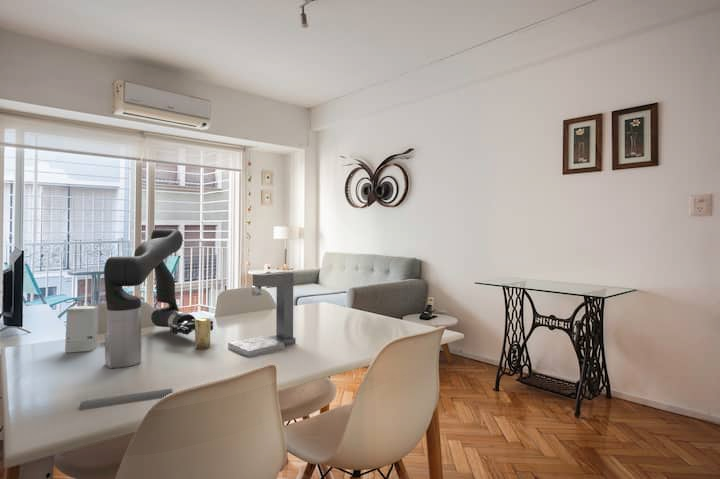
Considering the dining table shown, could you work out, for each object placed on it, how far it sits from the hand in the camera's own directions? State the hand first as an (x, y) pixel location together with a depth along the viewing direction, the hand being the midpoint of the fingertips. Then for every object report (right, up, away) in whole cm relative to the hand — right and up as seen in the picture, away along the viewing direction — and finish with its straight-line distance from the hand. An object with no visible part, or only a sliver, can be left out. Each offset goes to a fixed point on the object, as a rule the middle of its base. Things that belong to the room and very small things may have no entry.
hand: (200, 329), depth 148 cm
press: (+21, -6, +3) cm, 22 cm away
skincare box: (-39, -6, -5) cm, 40 cm away
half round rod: (0, -8, -47) cm, 47 cm away
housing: (+1, -6, -1) cm, 6 cm away
